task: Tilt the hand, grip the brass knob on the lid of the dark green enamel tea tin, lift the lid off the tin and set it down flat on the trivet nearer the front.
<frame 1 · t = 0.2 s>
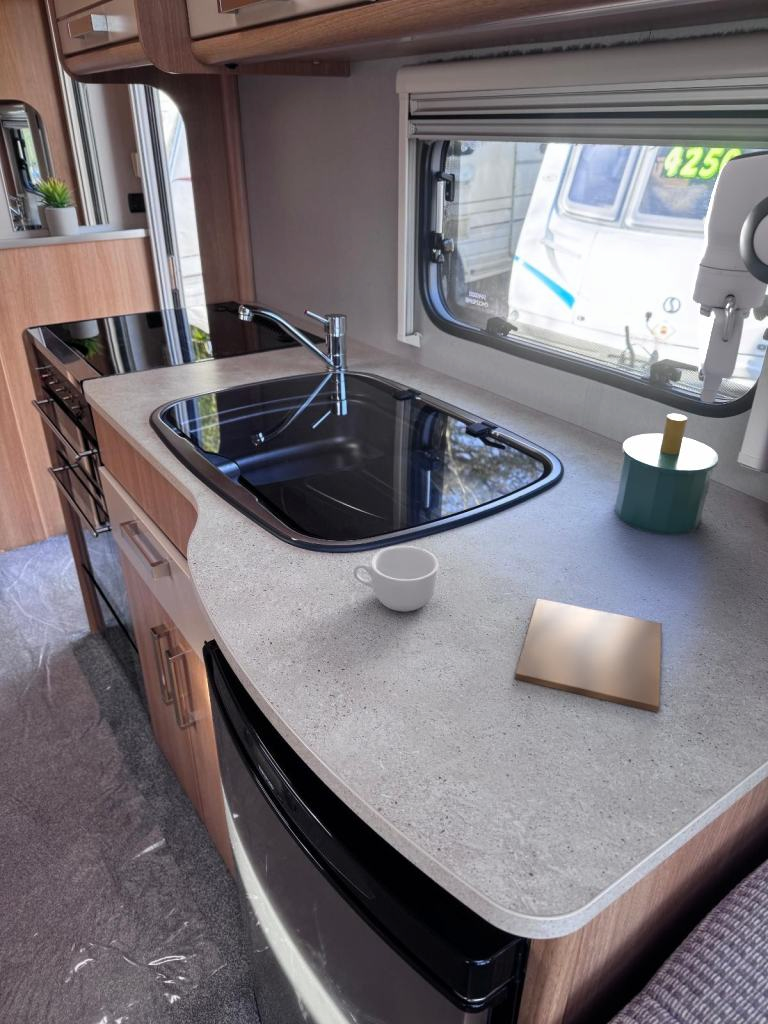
hand: (705, 390, 101), 17 cm above the worktop, tool pointing down, fingers open, 8 cm apart
trivet: (590, 652, 78), on the worktop
tin lid: (669, 454, 101), point 9 cm above the worktop, touching tea tin
tea tin: (656, 514, 105), on the worktop
teacup: (394, 600, 86), on the worktop
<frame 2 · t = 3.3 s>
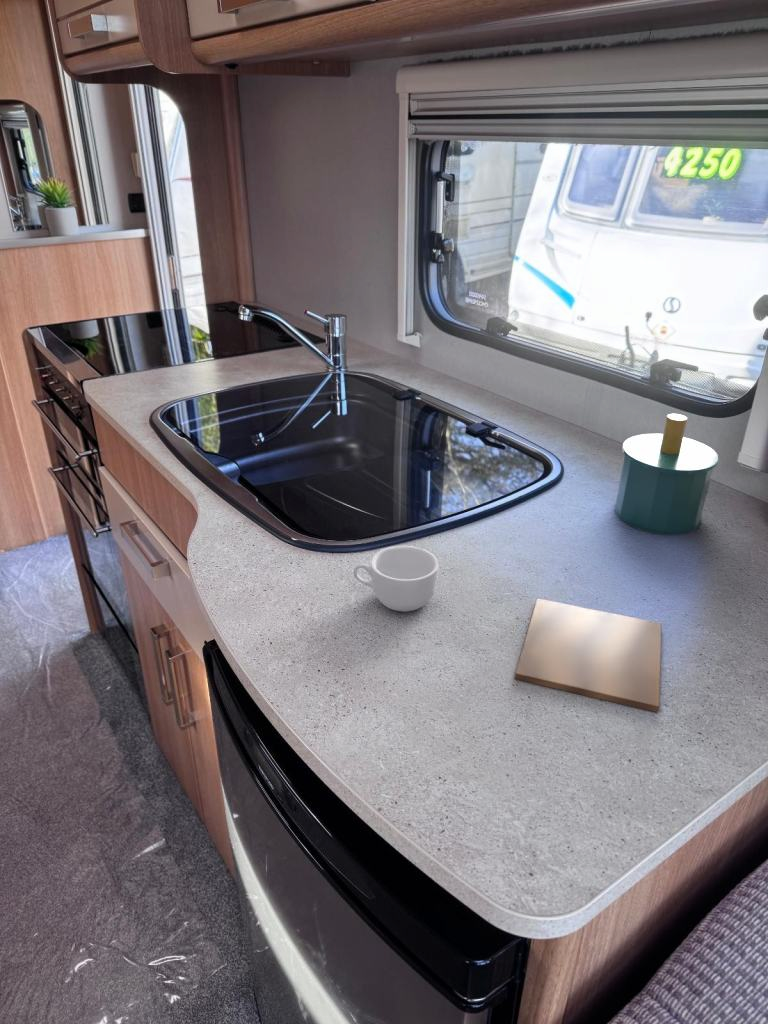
nothing on the worktop moved.
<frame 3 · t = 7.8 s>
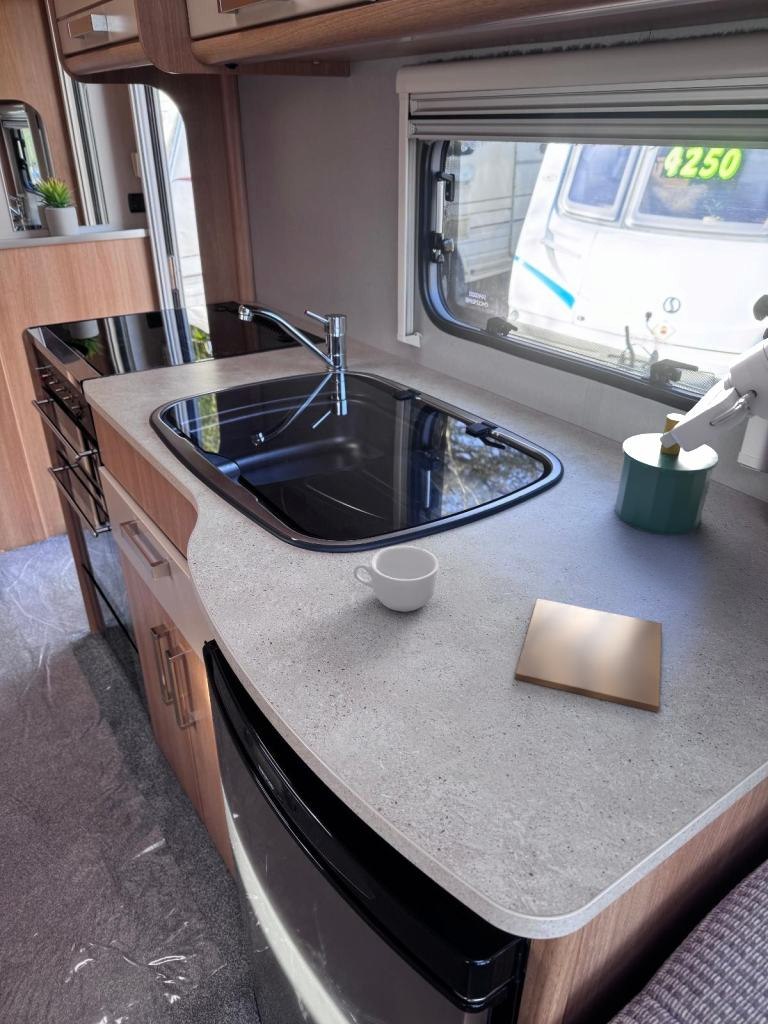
hand: (668, 437, 100), 12 cm above the worktop, tool tilted 45°, fingers closed on tin lid, 2 cm apart
tin lid: (669, 454, 101), point 10 cm above the worktop, touching gripper, tea tin
everything else where it was.
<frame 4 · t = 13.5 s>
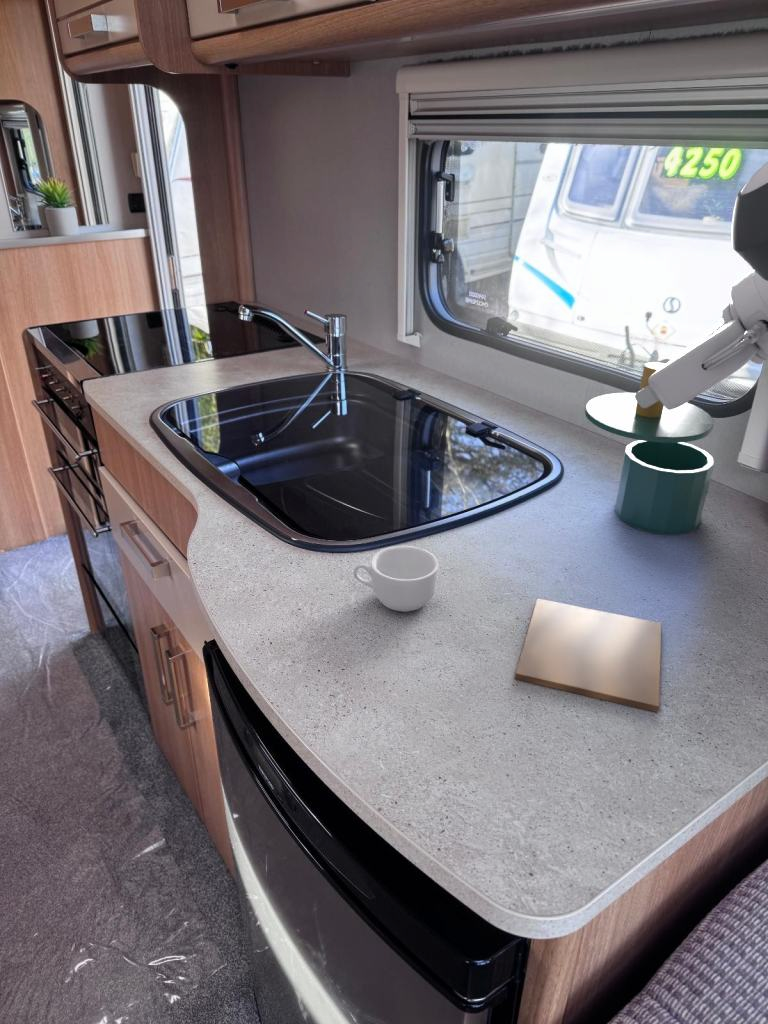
hand: (646, 395, 74), 26 cm above the worktop, tool tilted 45°, fingers closed on tin lid, 2 cm apart
tin lid: (647, 418, 75), point 23 cm above the worktop, touching gripper
everything else where it was.
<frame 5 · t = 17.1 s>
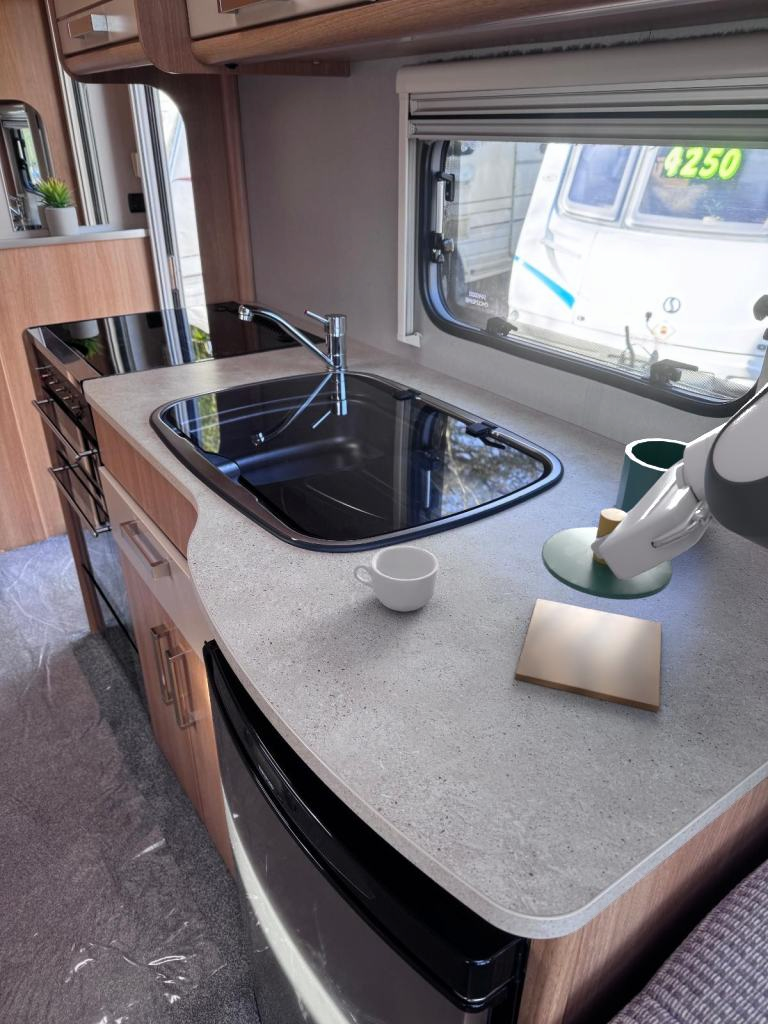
hand: (604, 541, 72), 14 cm above the worktop, tool tilted 45°, fingers closed on tin lid, 2 cm apart
tin lid: (605, 563, 72), point 11 cm above the worktop, touching gripper
everything else where it was.
when the fingers open (4 cm above the worktop, at t = 19.5 s): tin lid stays where it is, resting on trivet.
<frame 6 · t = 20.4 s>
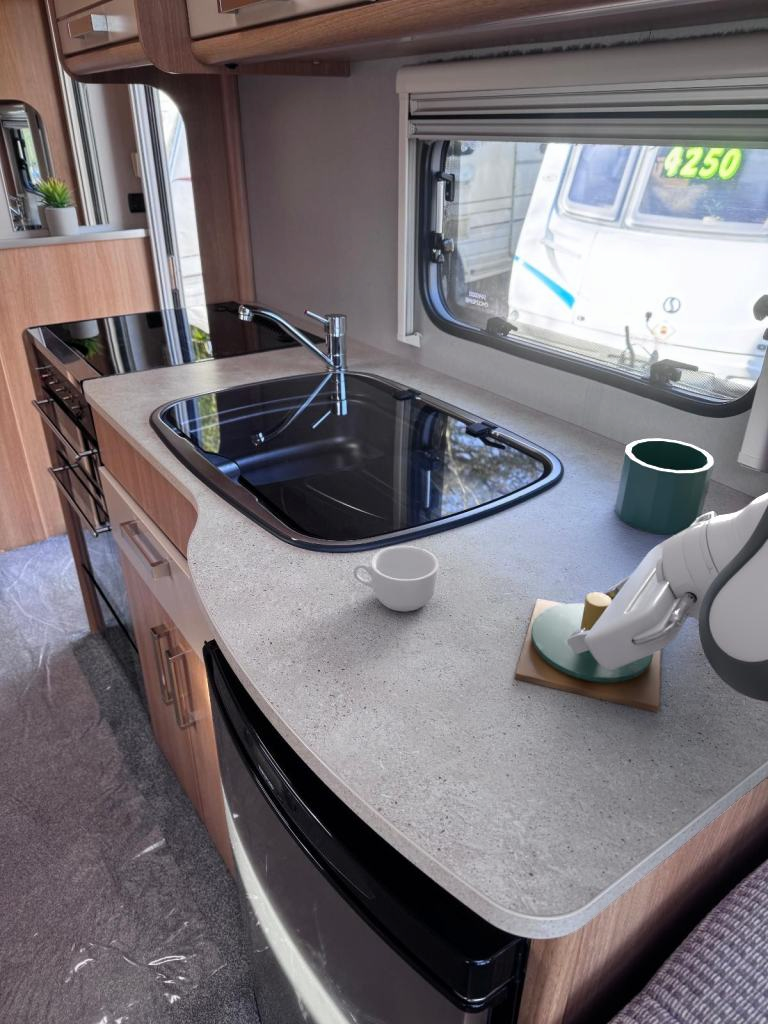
hand: (590, 620, 76), 4 cm above the worktop, tool tilted 45°, fingers open, 8 cm apart
tin lid: (591, 642, 77), point 1 cm above the worktop, touching trivet
everything else where it was.
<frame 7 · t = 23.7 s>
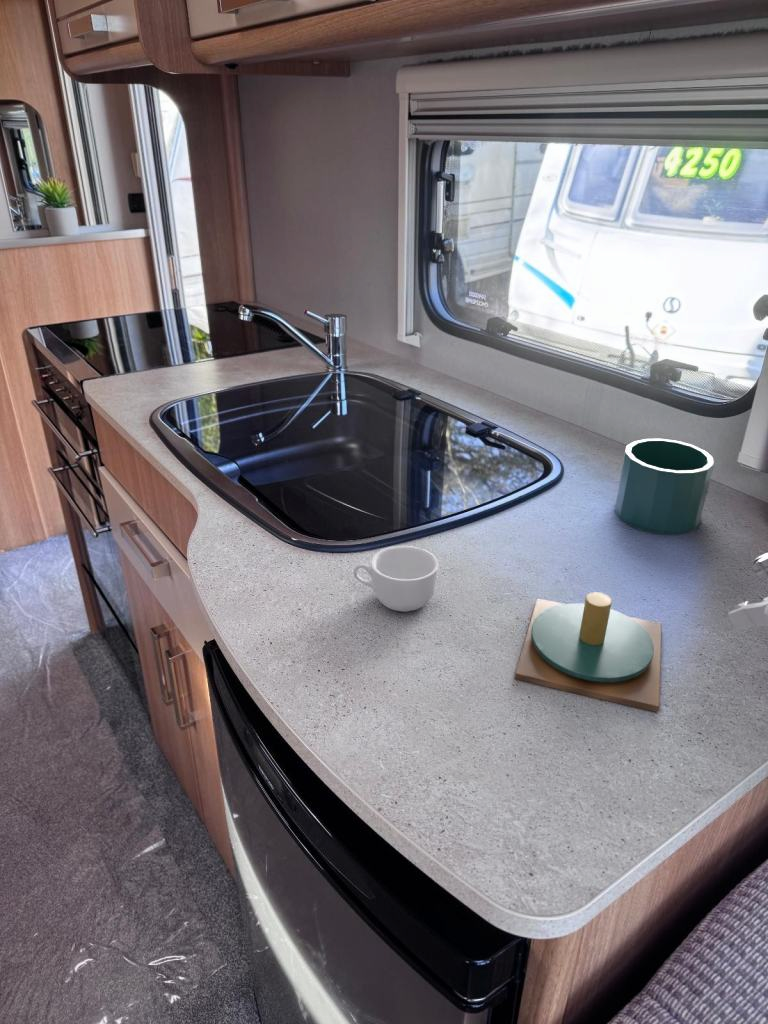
hand: (745, 593, 65), 13 cm above the worktop, tool tilted 45°, fingers open, 8 cm apart
nothing on the worktop moved.
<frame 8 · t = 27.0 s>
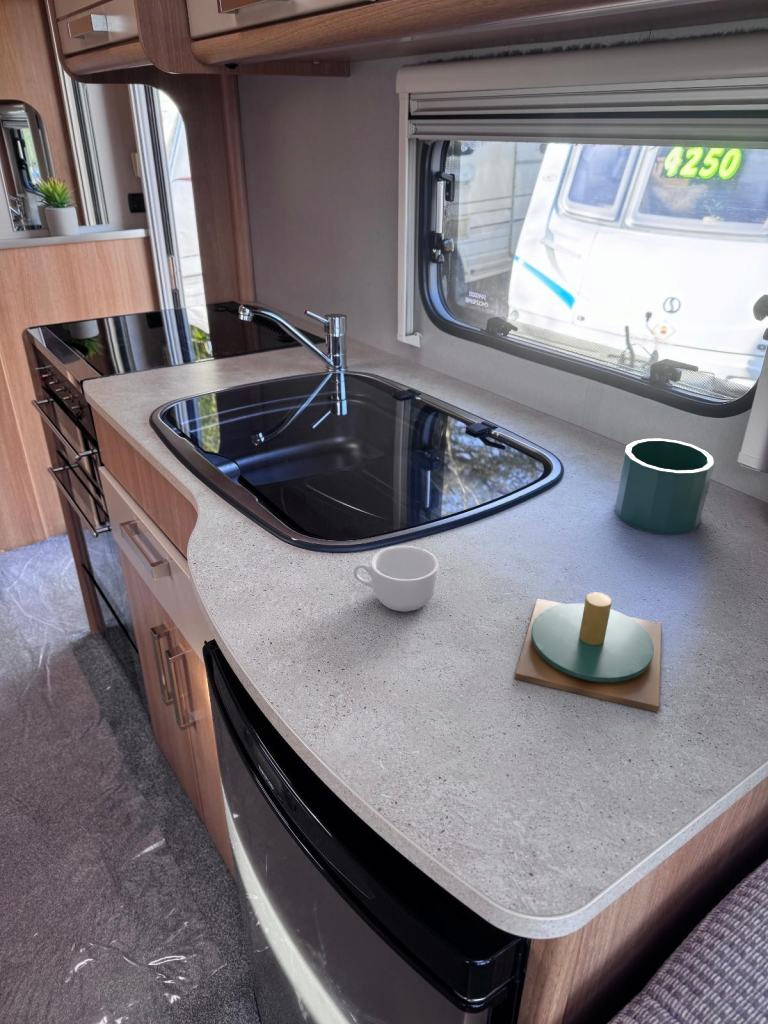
nothing on the worktop moved.
at the end: tin lid inside the target area on the trivet (0.2 cm from its centre), point 1.4 cm above the trivet's base; tin lid tilted 0°; the gripper is holding nothing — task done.
